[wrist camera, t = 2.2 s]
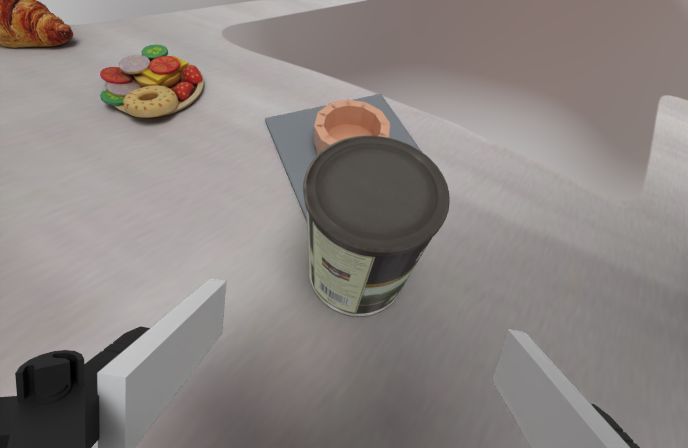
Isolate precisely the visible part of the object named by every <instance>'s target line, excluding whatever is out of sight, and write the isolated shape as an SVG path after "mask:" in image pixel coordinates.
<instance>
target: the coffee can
mask: <svg viewBox="0 0 688 448" xmlns="http://www.w3.org/2000/svg"><path fill="white" fill-rule="evenodd" d="M303 194H304V200H305V205H306V210H307V230H308V248H309V278H310V282H311V285H312V287H313V289H314V291H315V293H316V294H317V296H318V297H319V298H320V299H321V300H322V301H323V302H324V303H325V304H326V305H327V306H329V307H330V308H332V309H333V310H335V311H337V312H340V313H342V314H346V315H351V316H368V315H372V314H375V313H378V312H380V311H382V310H384V309H386V308H387V307H389V306H390V305H391V304H392V303H393V302H394V301H395V300H396V298H397V297H398V295H399V294H400V292H401V289H402V287H403V286H404V284H405V282H406V280H407V278H408V277H409V275H410V273H411V272H412V270H413V268H414V267H415V265H416V263H417V262H418V260H419V258H420V257H421V255H422V254H423V252H424V250H425V249H426V247H427V245H428V243H429V242H430V240H431V239H432V237H433V236H434V235H435V234H436V233H437V232H438V230H439V229H440V228H441V226H442V225H443V223H444V221H445V219H446V217H447V214H448V210H449V191H448V187H447V183H446V181H445V179H444V177H443V175H442V173H441V171H440V170H439V168H438V167H437V166H436V165H435V164H434V163H433V162H432V160H431V159H430V158H429V157H427V156H426V155H425V154H423V153H422V152H421V151H419V150H418V149H416V148H414V147H413V146H411V145H409V144H407V143H404V142H402V141H399V140H396V139H392V138H388V137H382V136H355V137H350V138H346V139H343V140H340V141H338V142H335V143H333V144H331V145H329V146H328V147H326V148H325V149H323V150H322V151H321V152H320V153H319V154H318V155H317V156H316V157H315V158H314V159H313V160H312V162H311V163H310V165H309V167H308V169H307V171H306V174H305V177H304V182H303Z"/></svg>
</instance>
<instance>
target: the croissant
mask: <svg viewBox="0 0 688 448" xmlns="http://www.w3.org/2000/svg"><path fill="white" fill-rule="evenodd" d="M72 36H73V32H72V30H71V27H70V26H69V25H66V24H64V22H63V21H62V20H61V19H60V18H59V17H56V16H55V15H54V14H53V13H51V12H50V11H49V10H48V8H46V6H45V5H44V4H42V3H40V2H39V1H36V0H0V45H1V46H4V47H12V48H17V47H30V46H40V47H47V46H56V45H61V44H64V43H65V42H67V40H70V39H71V38H72Z"/></svg>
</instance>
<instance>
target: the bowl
mask: <svg viewBox="0 0 688 448" xmlns="http://www.w3.org/2000/svg"><path fill="white" fill-rule="evenodd" d="M389 130H390V122H389V121H388V120H387V118H386V117H385V115H384V114H383V112H382V111H381V110H379V109H377V108H376V107H374V106H372V105H370V104H368V103H366V102H361V101H354V100H343V101H338V102H333V103H330V104H328V105H327V106H326V107H324V108H323V109H322V110H320V111H319V112H318V113H317V117H316V121H315V125H314V145H315V147H316V152H317V155H318V154H319V153H320V152H321V151H322V150H323V149H325V148H326V147H328V146H329V145H331V144H333V143H335V142H338V141H340V140H343V139H346V138H350V137H355V136H382V137H388V138H389Z"/></svg>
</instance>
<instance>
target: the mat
mask: <svg viewBox="0 0 688 448" xmlns="http://www.w3.org/2000/svg"><path fill="white" fill-rule="evenodd" d="M354 101H361V102H366V103H368V104H370V105H372V106H374V107H376V108H377V109H379V110H381V111H382V112H383V114H384V115H385V117H386V118H387V120H388V121H389V122H390V130H389V138H392V139H396V140H399V141H402V142H404V143H407V144H409V145H411V146H413V147H414V148H416V149H418V150H419V151H421V150H420V148H419V147H418V146H417V144H416V143H415V141H414V140H413V139H412V137H411V136H410V134H409V133H408V132H407V130H406V129H405V127H404V126H403V124H402V123H401V122H400V120H399V119H398V117H397V116H396V115H395V113H394V112H393V110H392V109H391V108H390V106H389V105H388V103H387V102H386V100H385V99H384V98H383V96H382V95H381V94H378V95H374V96H369V97H364V98H359V99H355V100H354ZM326 106H327V105H326ZM326 106H321V107H316V108H312V109H307V110H302V111H297V112H293V113H288V114H283V115H278V116H274V117H269V118H265V121H266V124H267V126H268V129H269V131H270V134H271V136H272V138H273V141H274V143H275V146H276V148H277V150H278V153H279V155H280V158H281V160H282V163H283V165H284V167H285V170H286V172H287V175H288V177H289V180H290V182H291V184H292V187H293V189H294V192H295V194H296V196H297V199H298V201H299V204H300V206H301V209H302V211H303V213H304V216H305V218H306V221H307V210H306V205H305V200H304V194H303V182H304V177H305V174H306V171H307V169H308V167H309V165H310V163H311V162H312V160H313V159H314V158H315V157H316V156H317V152H316V147H315V145H314V125H315V121H316V117H317V113H318V112H319V111H320V110H322V109H323V108H324V107H326ZM421 152H422V151H421Z"/></svg>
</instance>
